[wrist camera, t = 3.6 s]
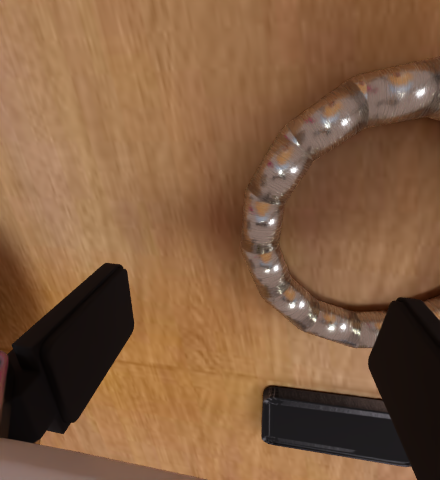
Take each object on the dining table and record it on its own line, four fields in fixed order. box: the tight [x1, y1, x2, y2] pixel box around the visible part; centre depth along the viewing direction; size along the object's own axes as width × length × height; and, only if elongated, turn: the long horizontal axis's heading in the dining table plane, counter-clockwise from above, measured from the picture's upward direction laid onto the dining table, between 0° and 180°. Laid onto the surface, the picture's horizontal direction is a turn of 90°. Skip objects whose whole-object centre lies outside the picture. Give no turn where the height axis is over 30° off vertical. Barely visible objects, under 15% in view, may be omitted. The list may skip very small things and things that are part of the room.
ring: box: [241, 56, 440, 348], centre depth 16 cm, size 18×19×3 cm
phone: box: [262, 387, 411, 467], centre depth 25 cm, size 8×1×15 cm
